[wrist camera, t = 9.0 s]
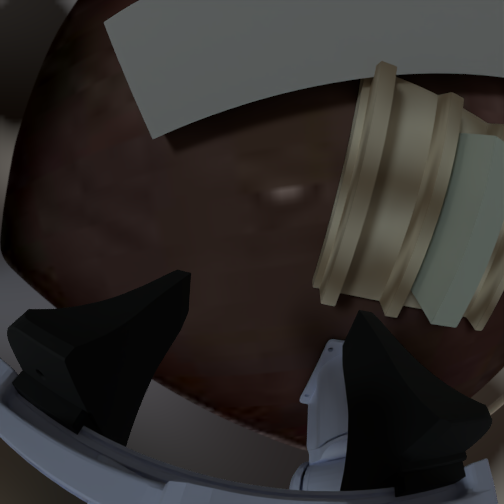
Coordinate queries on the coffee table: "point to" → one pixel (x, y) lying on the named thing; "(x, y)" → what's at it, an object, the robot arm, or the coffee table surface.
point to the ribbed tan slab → (398, 196)
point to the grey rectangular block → (290, 48)
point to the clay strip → (463, 230)
